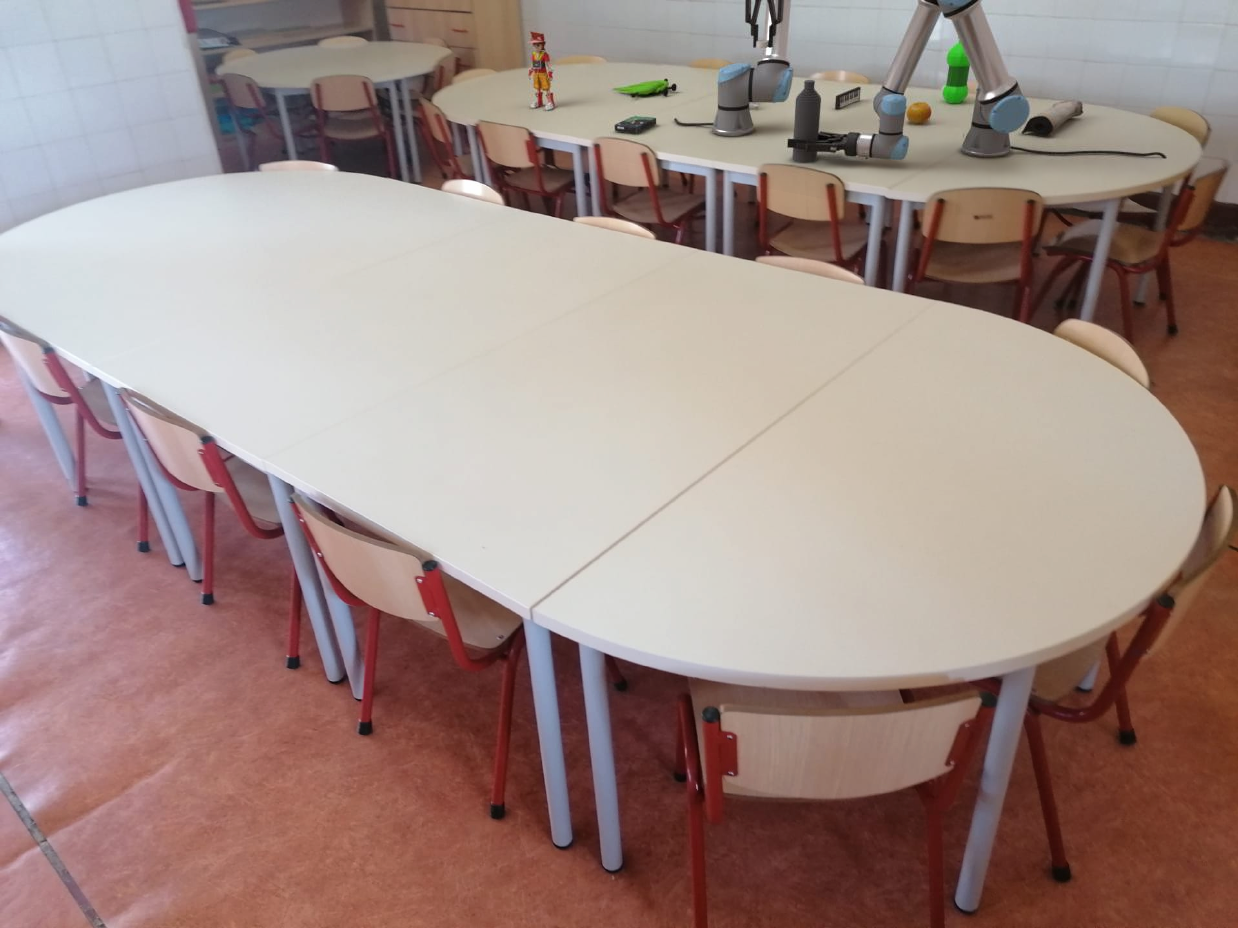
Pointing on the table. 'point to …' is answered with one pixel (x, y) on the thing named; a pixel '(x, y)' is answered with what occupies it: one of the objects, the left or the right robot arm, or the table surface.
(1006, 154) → the right robot arm
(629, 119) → the disk drive
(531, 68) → the toy
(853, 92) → the midi keyboard
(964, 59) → the plastic bottle
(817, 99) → the bottle
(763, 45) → the cap
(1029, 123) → the rolled mat
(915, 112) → the fruit
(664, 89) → the toy
